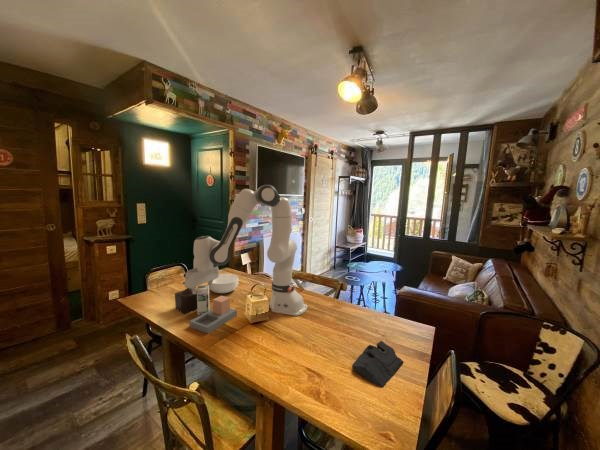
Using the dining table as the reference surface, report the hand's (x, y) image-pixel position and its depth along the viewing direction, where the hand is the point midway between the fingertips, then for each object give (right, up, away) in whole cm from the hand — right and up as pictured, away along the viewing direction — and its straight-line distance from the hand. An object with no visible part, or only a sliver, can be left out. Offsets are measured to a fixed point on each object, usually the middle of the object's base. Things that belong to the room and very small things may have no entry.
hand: (202, 290), depth 132 cm
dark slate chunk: (+83, -20, -35) cm, 93 cm away
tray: (+9, -14, -7) cm, 18 cm away
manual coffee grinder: (-12, -11, +7) cm, 18 cm away
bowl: (+1, -9, +32) cm, 33 cm away
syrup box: (0, -12, +1) cm, 12 cm away
